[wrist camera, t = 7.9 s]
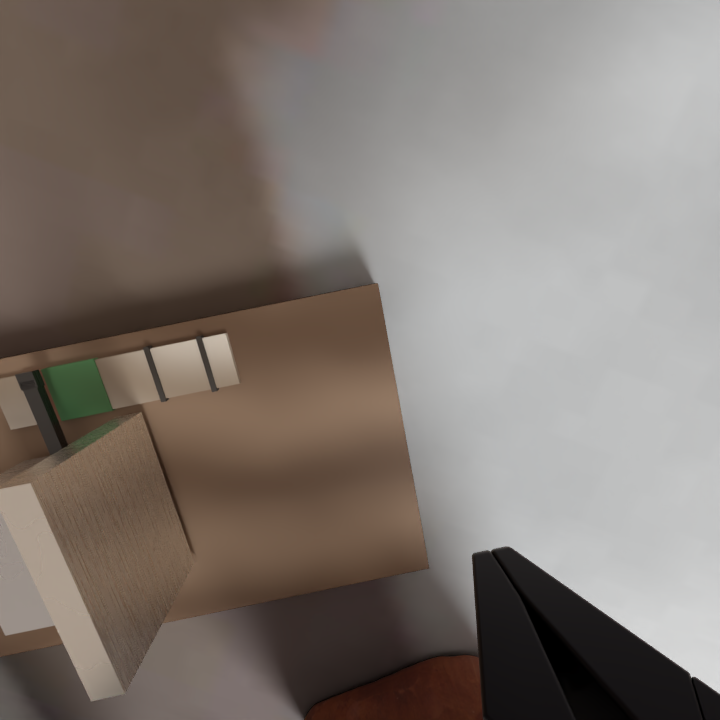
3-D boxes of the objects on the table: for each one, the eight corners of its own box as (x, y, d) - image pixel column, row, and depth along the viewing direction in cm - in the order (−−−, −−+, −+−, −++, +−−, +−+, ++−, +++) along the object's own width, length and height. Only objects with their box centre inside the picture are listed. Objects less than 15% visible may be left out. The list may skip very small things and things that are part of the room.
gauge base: (422, 544, 18) (466, 690, 11) (-53, 642, 18) (-277, 846, 11) (374, 283, 15) (398, 283, 9) (-192, 397, 15) (-599, 483, 8)
